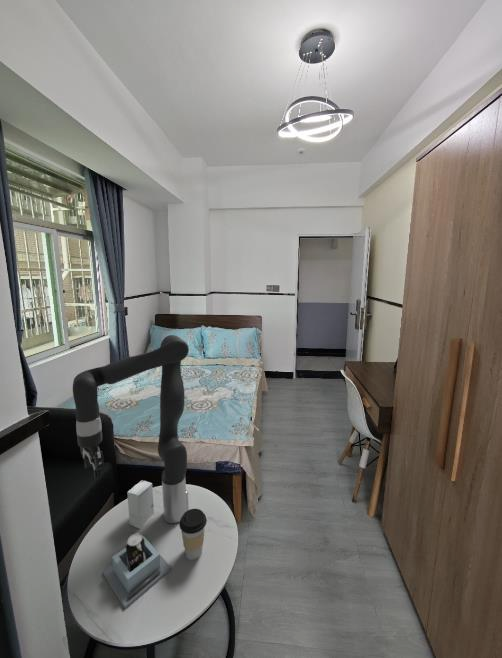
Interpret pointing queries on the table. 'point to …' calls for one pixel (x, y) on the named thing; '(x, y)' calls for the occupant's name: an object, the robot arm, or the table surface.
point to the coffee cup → (193, 532)
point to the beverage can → (135, 551)
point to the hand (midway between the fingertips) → (93, 472)
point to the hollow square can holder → (135, 574)
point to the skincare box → (140, 504)
